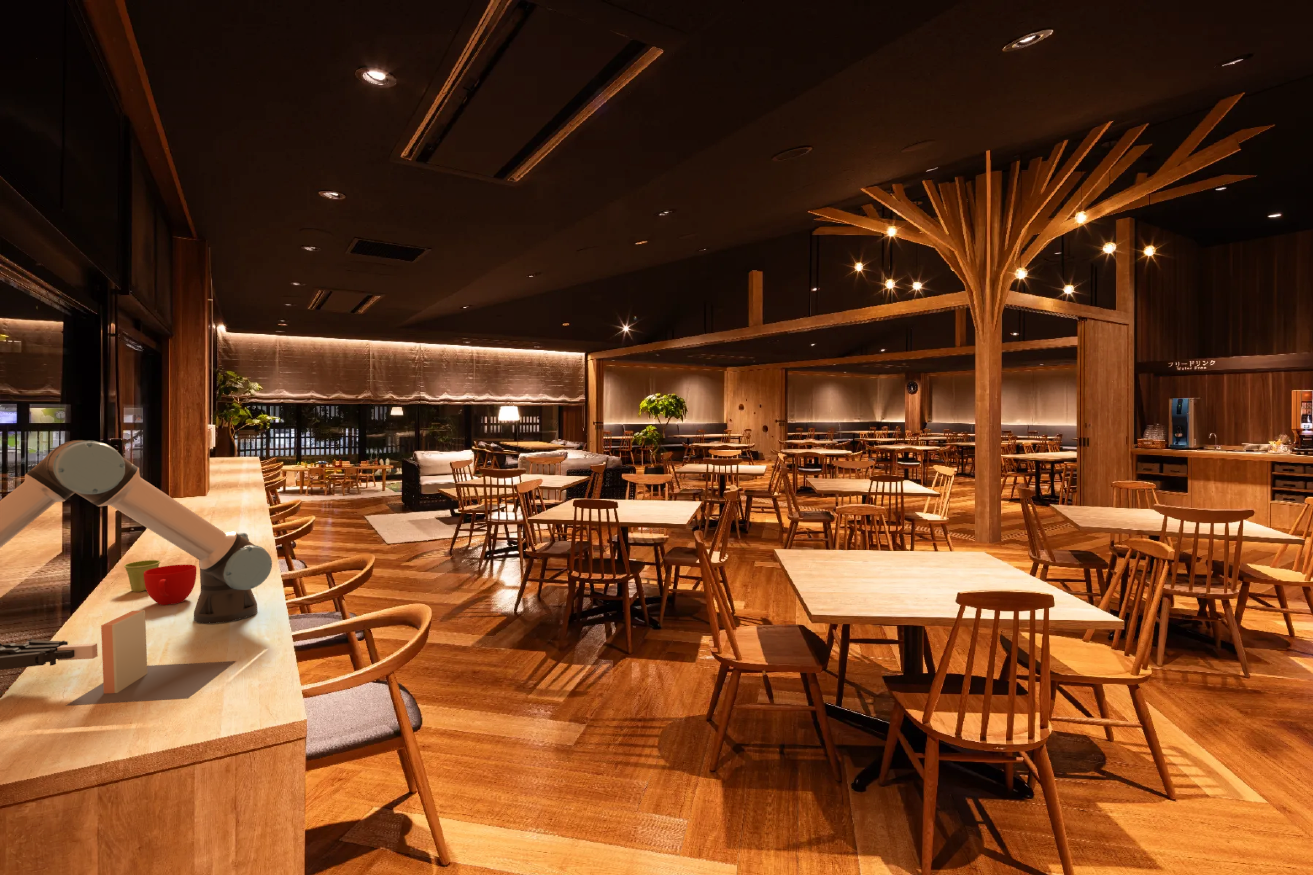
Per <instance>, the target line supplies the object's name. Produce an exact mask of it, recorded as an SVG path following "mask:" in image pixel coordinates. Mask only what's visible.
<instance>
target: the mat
mask: <svg viewBox="0 0 1313 875" xmlns="http://www.w3.org/2000/svg"><path fill="white" fill-rule="evenodd" d="M236 662H237V660H231V661H228V660H227V661H212V662H211V661H208V662H193V663H192V662H191V663H174V664H156V665H155V664H154V665H153V664H151V665H147V674H146V675H144V676H143V677H141V678H140V679H138V680H137V681H135V682H134V683H132V684H130V685H129V686H127V687H126V688H124V689H123V690H121V691H119V692H118V693H105V694H104V686H103V682H102V683H101V684H99V685H97V686H95V687H94V688H92V689H91V690H89V691H87V692H85V693H84V694H82V695H81V696H79V697H76V698H75V699H74V700H72V701H70V702H69V703H68V704H67V703H66V704H65V706H66V707H69V706H71V707H72V706H83V705H84V706H86V705H87V706H88V705H98V704H99V705H100V704H101V705H102V704H117V703H132V702H134V703H135V702H153V701H167V700H182V699H183V700H187V699H190V697H192V696H193V695H194V694H196V693H197V692H199V691H200V690H201V689H202V688H204V687H205V686H207V684H209V683H210V682H211V681H213V680H214V679H215V678H217V677H218V676H219V675H221V674H222V673H223V672H224V671H225V670H227V669H228V668H229V667H232V665H233V664H235V663H236Z"/></svg>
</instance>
